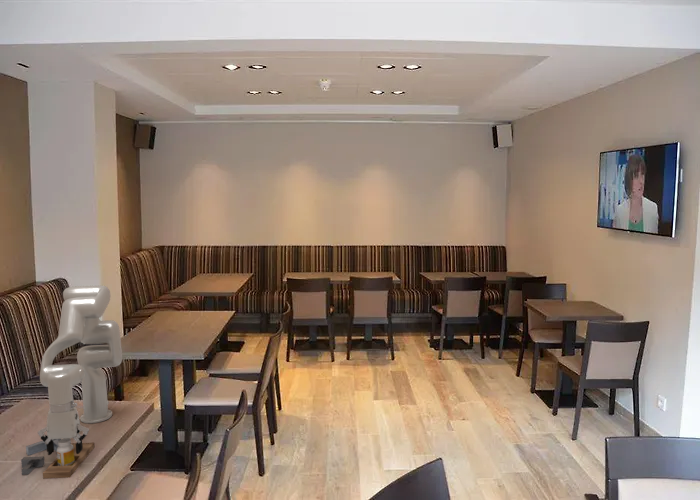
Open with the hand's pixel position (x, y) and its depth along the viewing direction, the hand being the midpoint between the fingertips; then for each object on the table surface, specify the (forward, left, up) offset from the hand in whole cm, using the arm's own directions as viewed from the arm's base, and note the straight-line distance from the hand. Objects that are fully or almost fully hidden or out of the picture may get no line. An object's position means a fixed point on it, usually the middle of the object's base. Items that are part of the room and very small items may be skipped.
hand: (65, 452), depth 205 cm
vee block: (-14, -12, -5) cm, 19 cm away
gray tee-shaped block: (+1, -12, -5) cm, 13 cm away
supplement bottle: (0, 0, -6) cm, 6 cm away
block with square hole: (-3, 0, -5) cm, 6 cm away
